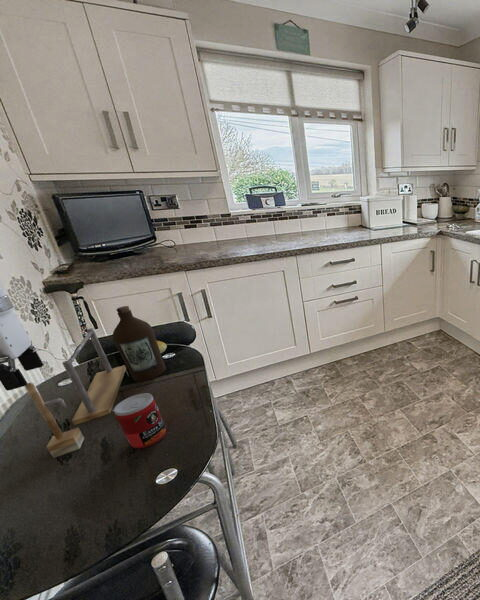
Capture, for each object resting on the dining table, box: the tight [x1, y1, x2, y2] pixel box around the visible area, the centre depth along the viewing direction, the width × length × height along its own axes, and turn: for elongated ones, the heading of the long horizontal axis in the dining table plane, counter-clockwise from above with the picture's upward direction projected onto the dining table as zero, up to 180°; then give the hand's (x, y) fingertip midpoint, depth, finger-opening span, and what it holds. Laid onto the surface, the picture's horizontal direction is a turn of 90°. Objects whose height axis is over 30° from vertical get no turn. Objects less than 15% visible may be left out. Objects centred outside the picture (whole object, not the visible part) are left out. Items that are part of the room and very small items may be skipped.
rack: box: [62, 327, 127, 426], centre depth 101 cm, size 8×30×18 cm, turn 32°
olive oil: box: [112, 305, 167, 383], centre depth 109 cm, size 11×11×25 cm
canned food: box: [113, 392, 167, 450], centre depth 81 cm, size 8×8×11 cm
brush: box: [24, 382, 85, 459], centre depth 79 cm, size 6×4×20 cm
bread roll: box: [157, 340, 168, 354], centre depth 128 cm, size 8×9×4 cm
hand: (26, 377), depth 74 cm, fingers open, 9 cm apart
